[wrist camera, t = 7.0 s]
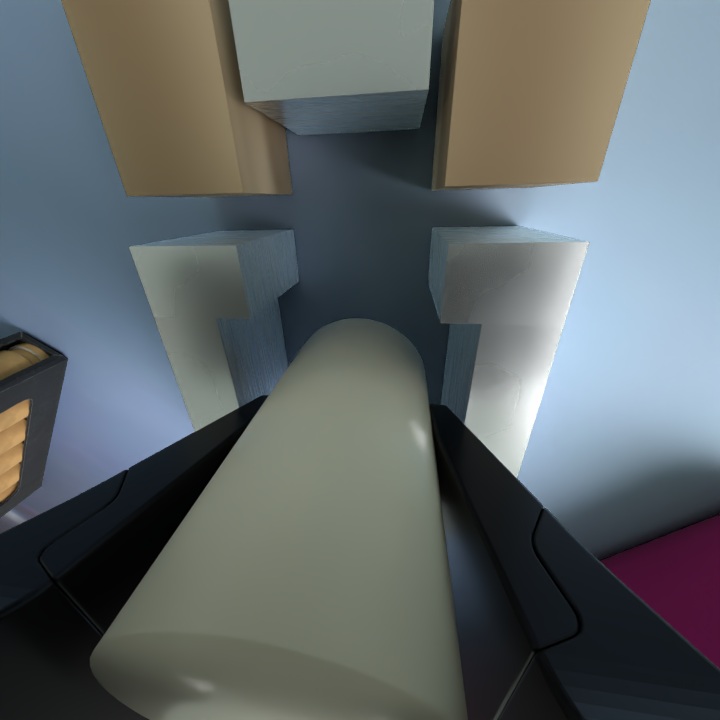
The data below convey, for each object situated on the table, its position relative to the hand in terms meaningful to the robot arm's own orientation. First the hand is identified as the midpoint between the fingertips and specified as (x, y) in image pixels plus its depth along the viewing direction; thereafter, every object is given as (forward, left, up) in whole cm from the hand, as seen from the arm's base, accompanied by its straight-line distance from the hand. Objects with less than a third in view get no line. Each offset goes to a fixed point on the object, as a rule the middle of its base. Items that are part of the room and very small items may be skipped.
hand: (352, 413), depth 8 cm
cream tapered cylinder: (0, 0, -2) cm, 2 cm away
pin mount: (0, -7, -3) cm, 7 cm away
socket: (0, 0, -3) cm, 3 cm away
